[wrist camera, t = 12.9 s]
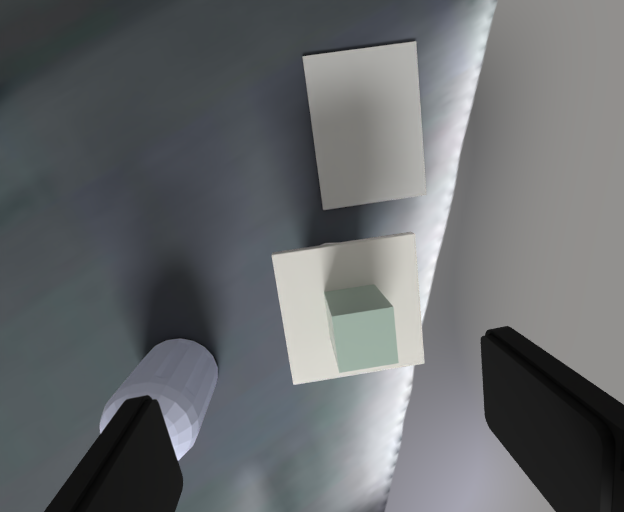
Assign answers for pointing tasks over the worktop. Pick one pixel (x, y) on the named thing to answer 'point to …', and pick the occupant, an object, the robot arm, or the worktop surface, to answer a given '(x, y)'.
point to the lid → (350, 307)
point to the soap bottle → (172, 388)
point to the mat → (366, 124)
